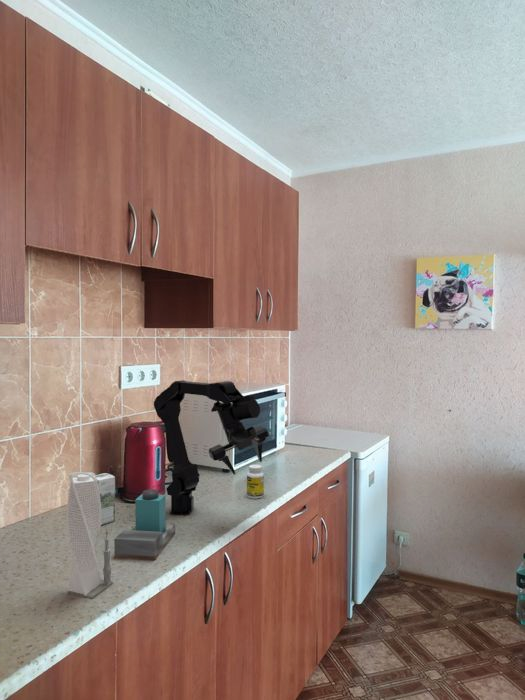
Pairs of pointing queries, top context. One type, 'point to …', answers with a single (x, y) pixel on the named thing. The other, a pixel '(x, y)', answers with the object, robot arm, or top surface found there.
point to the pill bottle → (255, 482)
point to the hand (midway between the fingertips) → (247, 467)
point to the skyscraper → (86, 536)
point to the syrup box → (106, 497)
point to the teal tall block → (150, 511)
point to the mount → (142, 543)
